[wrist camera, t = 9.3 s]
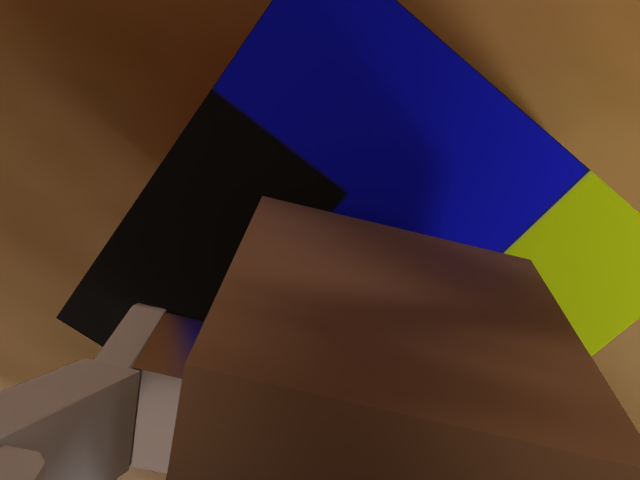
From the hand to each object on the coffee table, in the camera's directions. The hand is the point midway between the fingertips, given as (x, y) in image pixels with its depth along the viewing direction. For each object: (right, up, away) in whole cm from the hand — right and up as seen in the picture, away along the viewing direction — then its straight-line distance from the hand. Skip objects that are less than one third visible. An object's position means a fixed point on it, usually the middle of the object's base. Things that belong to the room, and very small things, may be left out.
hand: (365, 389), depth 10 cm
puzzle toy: (+1, +6, +12) cm, 13 cm away
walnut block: (0, +1, +2) cm, 2 cm away
